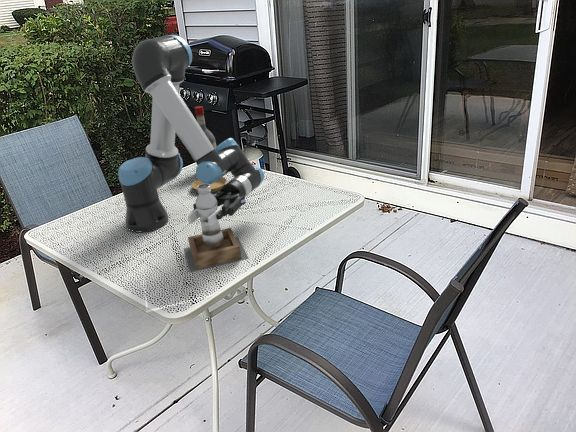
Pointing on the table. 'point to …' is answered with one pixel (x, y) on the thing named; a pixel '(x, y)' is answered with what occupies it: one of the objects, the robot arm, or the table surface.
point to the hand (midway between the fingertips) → (199, 220)
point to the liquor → (201, 122)
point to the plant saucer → (214, 186)
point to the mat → (193, 268)
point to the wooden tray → (214, 250)
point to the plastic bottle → (205, 208)
